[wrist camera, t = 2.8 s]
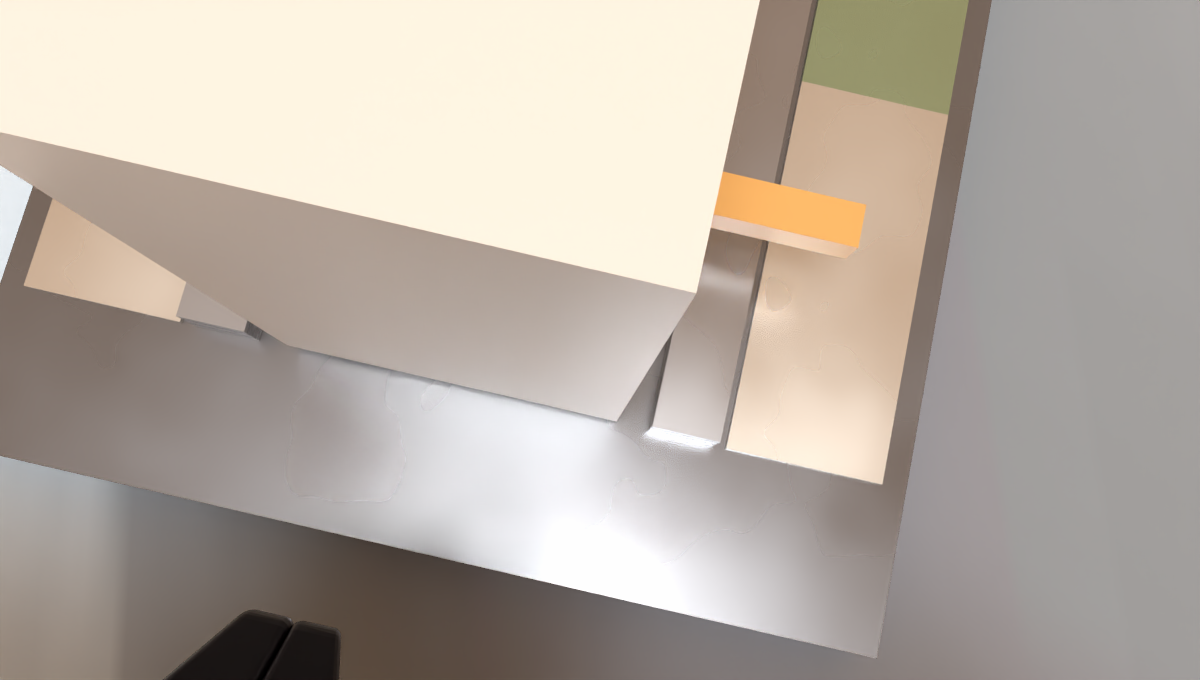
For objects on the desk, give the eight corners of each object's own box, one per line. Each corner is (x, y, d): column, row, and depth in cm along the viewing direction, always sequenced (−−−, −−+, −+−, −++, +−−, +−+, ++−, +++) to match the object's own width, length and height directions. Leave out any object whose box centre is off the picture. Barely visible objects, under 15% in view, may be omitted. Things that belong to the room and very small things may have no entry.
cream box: (781, 459, 15) (1086, 383, 6) (122, 306, 15) (-476, 22, 6) (854, 87, 16) (1203, -417, 8) (236, -56, 16) (-143, -730, 8)
